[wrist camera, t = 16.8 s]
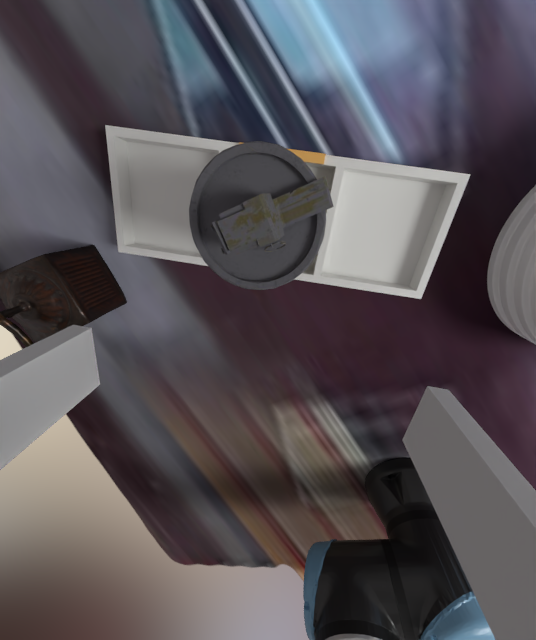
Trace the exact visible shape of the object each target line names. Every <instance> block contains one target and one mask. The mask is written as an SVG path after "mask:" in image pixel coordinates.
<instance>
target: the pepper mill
mask: <svg viewBox="0 0 536 640" xmlns="http://www.w3.org/2000/svg"><path fill="white" fill-rule="evenodd" d="M0 298H1V299H2V302H3V304H4V306H5V308H6V309H7V310H4V311H1V312H0V325H2V326H3V327H4V328H6V329H7V330H8V331H10V332H11V333H13V334H14V335H15V336H16V337H17V338H18V339H19V340H20V341H21V342H22V343H23V344H24V345H25V346H26V347H28V346H31V345H33V344H34V343H33V342H32V341H31V339H30V338H29V337H28V336H27V335H26V334H25V333H24V332H23V331H22V330H21V329H20V328H19V327H18V326H16V325H15V324H14V323H12V322H11V321H9V320H7V319H6V318H7V317H8V318H10V317H13V318H14V319H15V321H17V322H18V323H20V324H21V325H22V327H23V328H24V329H25V330H26V332H27V333H28V334H29V336H30V337H31V338H32V340H33V341H34V342H36V341H41V340H43V339H45V338H47V337H49V336H51V335H53V334H55V333H57V332H59V331H61V330H63V329H65V328H67V327H69V326H72V325H77V326H84V325H86V324H88V323H90V322H92V321H94V320H95V319H97V318H99V317H101V316H102V315H104V314H106V313H108V312H109V311H112V310H114V309H116V308H118V307H120V306H122V305H124V304H126V303H127V301H126V298H125V296H124V293H123V292H122V290H121V288H120V286H119V285H118V283H117V281H116V279H115V278H114V276H113V274H112V273H111V271H110V269H109V268H108V266H107V264H106V263H105V261H104V260H103V258H102V257H101V255H100V254H99V252H98V250H97V249H96V247H95V246H94V245H91V246H86V247H81V248H75V249H69V250H64V251H59V252H54V253H49V254H44V255H41V256H38V257H35V258H33V259H30V260H28V261H26V262H23V263H21V264H19V265H17V266H14V267H12V268H10V269H7V270H5V271H3V272H1V273H0Z"/></svg>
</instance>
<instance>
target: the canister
mask: <svg viewBox="0 0 536 640" xmlns="http://www.w3.org/2000/svg"><path fill="white" fill-rule="evenodd" d="M332 207H334V206H333V202H332V199H331V195H330V191H329V188H328V184H327V181H326V177H322V178H320V179H318V180H317V179H316V177H315V175H314V174H313V172H312V171H311V169H310V168H309V167H308V165H307V164H306V163H305V162H304V161H303V160H302V159H301V158H300V157H298V156H297V155H295V154H294V153H293V152H291V151H290V150H288V149H286V148H284V147H282V146H280V145H277V144H272V143H267V142H262V141H255V142H247V143H242V144H238V145H235V146H232V147H230V148H227V149H225V150H223V151H221V152H220V153H219V154H218V155H216V156H215V157H214V158H213V159H212V160H211V161H210V162H209V163H208V164H207V165H206V166H205V167H204V169H203V170H202V172H201V174H200V175H199V177H198V178H197V180H196V183H195V186H194V189H193V193H192V196H191V201H190V206H189V222H190V228H191V233H192V237H193V240H194V243H195V245H196V247H197V249H198V251H199V253H200V255H201V256H202V258H203V260H204V262H205V263H206V264H207V265H208V266H209V267H210V268H211V269H212V270H213V271H214V272H215V273H216V274H217V275H218V276H220V277H221V278H222V279H224V280H226V281H227V282H229V283H231V284H233V285H236V286H239V287H242V288H245V289H255V290H265V289H272V288H276V287H279V286H281V285H284V284H286V283H288V282H291V281H292V280H294V279H295V278H296V277H298V276H299V275H300V274H302V273H303V272H304V271H305V270H306V269H307V268H308V267H309V265H310V264H311V262H312V261H313V259H314V258H315V257H316V255H317V254H318V251H319V249H320V246H321V244H322V242H323V238H324V234H325V226H326V210H327V209H330V208H332Z"/></svg>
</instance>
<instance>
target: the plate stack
mask: <svg viewBox="0 0 536 640" xmlns="http://www.w3.org/2000/svg"><path fill="white" fill-rule="evenodd" d="M487 288H488V294H489V299H490V302H491V305H492V307H493V309H494V311H495V313H496V315H497V316H498V318H499V319H500V320H501V321H502V322H503V323H504V324H505V325H506V326H507V327H508V328H509V329H510V330H512V331H513V332H515V333H516V334H518V335H520V336H521V337H523V338H525V339H527V340H529V341H530V342H532V343H534V344H536V185H535V186H534V187H533V188H532V189H531V190H530V191H529V192H528V194H527V195H526V196H525V197H524V198H523V199H522V200H521V202H520V203H519V204H518V205H517V207H516V208H515V209H514V211H513V212H512V213H511V215H510V216H509V218H508V219H507V221H506V223H505V224H504V226H503V228H502V230H501V232H500V233H499V235H498V238H497V240H496V242H495V245H494V247H493V250H492V253H491V257H490V261H489V265H488V273H487Z"/></svg>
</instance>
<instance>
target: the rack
mask: <svg viewBox="0 0 536 640" xmlns="http://www.w3.org/2000/svg"><path fill="white" fill-rule="evenodd" d="M105 128H106V138H107V147H108V157H109V166H110V176H111V186H112V195H113V205H114V214H115V224H116V233H117V243H118V252H122V253H128V254H135V255H141V256H148V257H154V258H161V259H167V260H173V261H180V262H186V263H193V264H199V265H206V266H208V265H207V264H206V263H205V262H204V260H203V258H202V256H201V255H200V253H199V251H198V249H197V247H196V245H195V243H194V240H193V237H192V233H191V228H190V222H189V206H190V201H191V196H192V193H193V189H194V186H195V183H196V180H197V178H198V177H199V175H200V174H201V172H202V170H203V169H204V167H205V166H206V165H207V164H208V163H209V162H210V161H211V160H212V159H213V158H214V157H215V156H216V155H218V154H219V153H220V152H221V151H223V150H225V149H227V148H230V147H232V146H235V145H238V144H242V143H241V142H239V143H234V142H226V141H219V140H211V139H204V138H197V137H189V136H182V135H174V134H167V133H160V132H152V131H145V130H137V129H130V128H122V127H115V126H108V125H105ZM288 150H290V151H291V152H293V153H294V154H295V155H297V156H298V157H300V158H301V159H302V160H303V161H304V162H305V163H306V164H307V165H308V167H309V168H310V169H311V171H312V172H313V174H314V175H315V177H316V179H317V180H318V179H320V178H322V177H326V181H327V184H328V188H329V191H330V195H331V199H332V202H333V206H334V207H332V208H330V209H327V210H326V226H325V234H324V238H323V242H322V244H321V246H320V249H319V251H318V254H317V255H316V257H315V258H314V259H313V261H312V262H311V264H310V265H309V267H308V268H307V269H306V270H305V271H304V272H303V273H302V274H300V275H299V276H298V277H296V278H295V279H296V280H302V281H308V282H315V283H321V284H328V285H334V286H341V287H347V288H353V289H360V290H366V291H373V292H379V293H386V294H392V295H398V296H405V297H411V298H418V299H421V298H422V296H423V293H424V291H425V288H426V285H427V283H428V280H429V278H430V275H431V273H432V270H433V268H434V265H435V263H436V260H437V258H438V255H439V253H440V250H441V248H442V245H443V243H444V240H445V238H446V235H447V233H448V230H449V228H450V225H451V223H452V220H453V217H454V215H455V212H456V210H457V207H458V205H459V202H460V200H461V197H462V195H463V192H464V190H465V187H466V185H467V182H468V180H469V177H470V175H471V174H464V173H456V172H449V171H442V170H434V169H427V168H419V167H412V166H404V165H397V164H390V163H382V162H375V161H367V160H360V159H352V158H345V157H338V156H330V155H326V154H322V153H315V152H307V151H300V150H293V149H288Z"/></svg>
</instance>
